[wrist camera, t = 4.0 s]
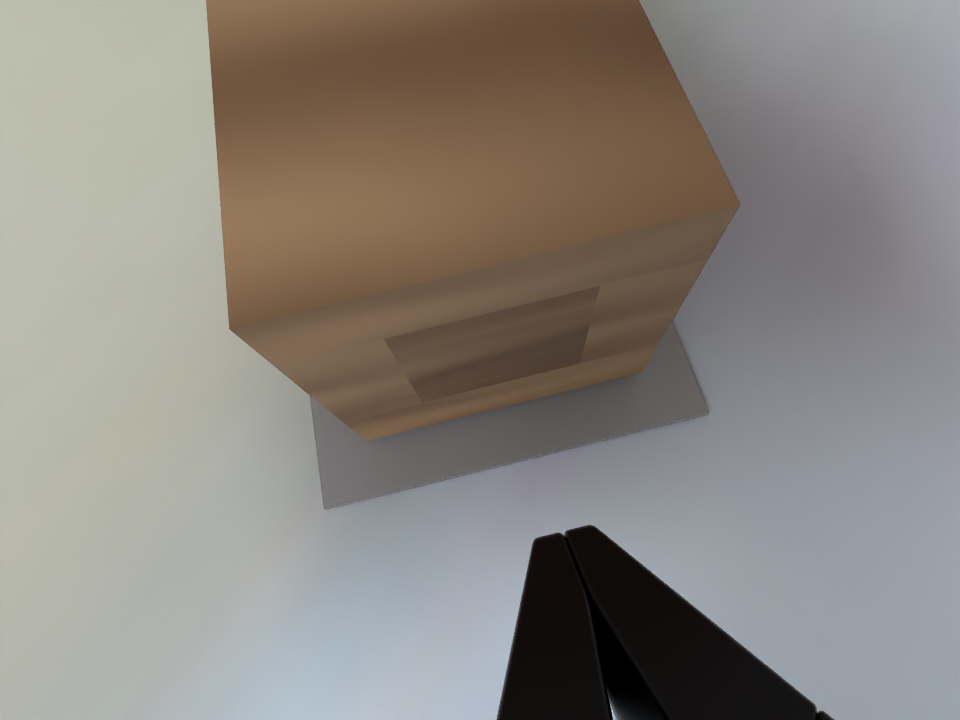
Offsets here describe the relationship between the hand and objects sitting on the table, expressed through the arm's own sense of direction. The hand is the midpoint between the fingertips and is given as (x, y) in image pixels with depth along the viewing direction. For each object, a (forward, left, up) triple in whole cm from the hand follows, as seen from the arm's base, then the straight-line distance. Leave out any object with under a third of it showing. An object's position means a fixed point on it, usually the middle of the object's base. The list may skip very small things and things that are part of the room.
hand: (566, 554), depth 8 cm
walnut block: (+7, +5, -7) cm, 11 cm away
